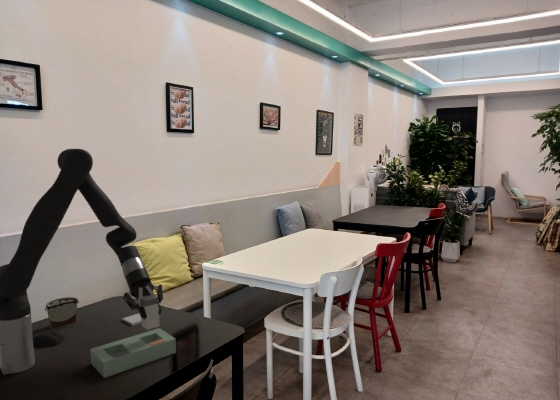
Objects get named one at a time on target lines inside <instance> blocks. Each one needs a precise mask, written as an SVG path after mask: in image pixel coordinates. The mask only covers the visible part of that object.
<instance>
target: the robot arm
mask: <svg viewBox="0 0 560 400" xmlns="http://www.w3.org/2000/svg"><path fill="white" fill-rule="evenodd" d="M93 161H94V160H93V157H92V154H91V153H90V152H89V151H88V150H85V149H83V148H82V149H81V148H68V149H65V150H61V152H60V153H59V155H58V157H57V166H58V168H59V169H60V171H59V173H58V175H57V177H56V179H55V181H54V182H53V184H52V185H51V187H49V189H48V190H47V191H45V192H44V194H43V195H42V196H41V197H40V198H39V200H37V202H36V204H35V205H34V207H33V208H32V210H31V212H30V214H29V215H28V217H27V219H26V220H25V223H24V226H23V229H22V232H21V236H20V240H19V242H18V243H19V244H18V247H17V249H16V250H15V251H16V252H15V253H14V255H13V257H12V258H11V260H10V261H9V263H7V264H3V265H1V266H0V371H1V373H2V375H4V376H5V375H9V374H10V375H12V374H18V373H21V372H24V371H27V370H29V369H31V368H32V367H33V366H35V364H36V359H35V346H34V345H33V337H34V336H33V334H34V333H33V324H32V323H33V322H32V312H31V310H32V308H31V304H30V300H29V297H28V289H29V287H30V286H31V283H32V280H33V278H34V275H35V273H36V270H37V268H38V266H39V263H40V261H41V259H42V256H44V253H45V252H46V250H47V249H48V247H49V245H50V243H51V241H52V240H53V239H54V238H53V237H54V236H55V234H56V232H57V231H58V229H59V227H60V225H61V224H62V222H63V219H64V217H65V215H66V213H67V211H68V210H69V207H70V205H71V203H72V201H73V199H74V197H75V195H76V194H77V191H79V193H80V194H81V195H82V198H84V200H85V201H86V203H87V204H88V206H89V207H90V209H91V211H92V212H93V213H94V215H95V217H96V218H97V220H98V221H99V224H101V226H102V227H103V228H111V227H114V226H117V227H116V228H114V229H112V230H111V231H109V232H107V233H106V236H105V242H106V243H107V244H108V246H109V247H110V248H111V250H112V251H113V252H114V254H115V255H116V257H117V258H118V260H119V263H120V266H121V268H122V273H123V277H124V279H125V281H126V284H127V286H128V289H129V291H128V292H124V294H123V295H122V299H123V300H124V302H125V303H126V304H127V305H128V307H129V308H130V309H131V310H132V311H135V310H137V311H138V314H140V316H141V318H143V319H146V318H147V314H146V312H145V310H144V307H142V302H141V298H143V297H144V296H148V295H154V296H156V295H157V296H156V297H158V306H159V315H160V316H161V314H162V311H163V309H162V307H161V305H160V304H161V303H162V301H163V299H164V293H163V285H162V284H159V285H155V284H153V283H152V281H151V278H150V275H149V272H148V270H147V268H146V266H145V263H144V262H143V260H142V257H141V255H140V253H139V250H138V249H137V247H136V246H134V245H128V244H130V243H133V242H134V241H136V239H137V232H136V229H135V228H134V227H133V226H132V225H131V224H130V223H129V222H127V221H126V220H125V219H124V218H123V217H122V215H120V214H121V213H119V212H118V210H117V208H116V207H115V205H114V204H113V202H112V200H111V199H110V198H109V197H108V195H107V194H106V193H105V192H104V191H103V190H102V188H101V187H100V186H99V185H98V184H97V183H96V181H95V180H94V178H93V176H92V175H91V173H90V172H91V170H92V169H93V164H94V162H93ZM126 245H127V246H126ZM154 291H155V292H154ZM155 293H157V294H155ZM133 297H134V299H135V301H136V302H135V301H134V299H133Z"/></svg>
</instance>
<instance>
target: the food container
mask: <svg viewBox="0 0 560 400" xmlns="http://www.w3.org/2000/svg"><path fill="white" fill-rule="evenodd" d="M78 304H80V301H79V299H78V298H77V297H73V296H72V297H70V296H68V297H60V298H55V299H53V300H50V301H48V302H47V303H46V305H45V308H44V311H45V312H47V316H48V322H49V326H50V330H53V331H54V330H57V329H59V328H64V327H68V326H71V325H75V324H77V321H78V320H77V319H78Z"/></svg>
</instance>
